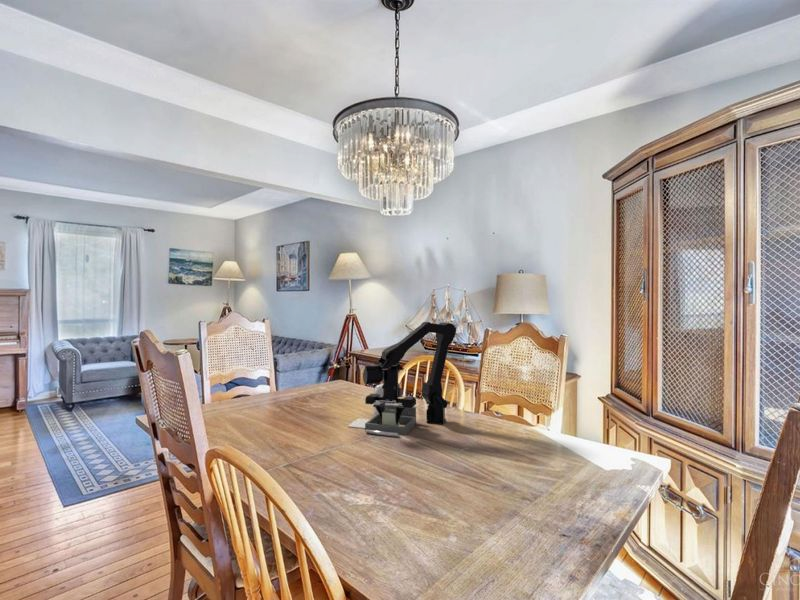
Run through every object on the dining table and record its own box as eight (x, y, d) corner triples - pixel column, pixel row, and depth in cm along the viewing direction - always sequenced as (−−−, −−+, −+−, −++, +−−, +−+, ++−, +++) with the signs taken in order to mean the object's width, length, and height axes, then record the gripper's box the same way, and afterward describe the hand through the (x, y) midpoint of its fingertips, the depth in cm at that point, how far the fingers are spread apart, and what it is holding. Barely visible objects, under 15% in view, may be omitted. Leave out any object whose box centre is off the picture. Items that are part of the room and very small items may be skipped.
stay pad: (374, 421, 163) (374, 420, 163) (364, 428, 153) (364, 427, 153) (358, 419, 165) (358, 418, 165) (347, 426, 155) (347, 425, 155)
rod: (398, 436, 145) (398, 432, 145) (397, 437, 144) (397, 433, 144) (367, 432, 149) (367, 428, 149) (365, 434, 147) (365, 430, 147)
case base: (414, 424, 159) (414, 416, 159) (405, 434, 147) (405, 426, 147) (377, 420, 164) (377, 413, 164) (365, 430, 152) (365, 422, 152)
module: (398, 425, 157) (398, 409, 157) (394, 429, 152) (394, 413, 152) (386, 424, 158) (386, 408, 158) (382, 428, 154) (382, 411, 154)
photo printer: (389, 408, 180) (389, 380, 180) (396, 410, 177) (396, 382, 177) (371, 413, 173) (371, 384, 173) (378, 415, 170) (378, 386, 170)
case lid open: (416, 422, 160) (416, 406, 160) (415, 424, 159) (415, 407, 159) (378, 419, 165) (378, 402, 165) (376, 420, 164) (376, 403, 164)
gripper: (420, 379, 160) (419, 419, 160) (375, 376, 166) (375, 414, 166) (412, 385, 149) (412, 428, 149) (364, 382, 155) (364, 423, 155)
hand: (390, 423), depth 155 cm, fingers closed on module, 5 cm apart
